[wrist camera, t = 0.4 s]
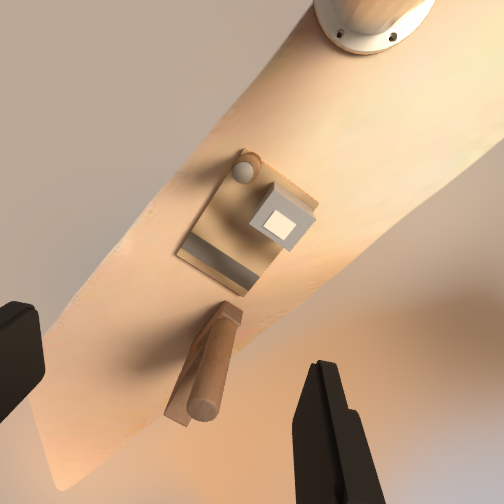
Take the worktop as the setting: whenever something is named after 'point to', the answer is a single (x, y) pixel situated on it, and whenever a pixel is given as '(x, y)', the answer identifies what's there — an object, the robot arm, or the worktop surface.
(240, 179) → the grey-capped wooden cylinder
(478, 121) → the worktop surface
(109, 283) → the worktop surface
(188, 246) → the panel
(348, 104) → the worktop surface
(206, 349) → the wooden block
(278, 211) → the block
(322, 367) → the robot arm
